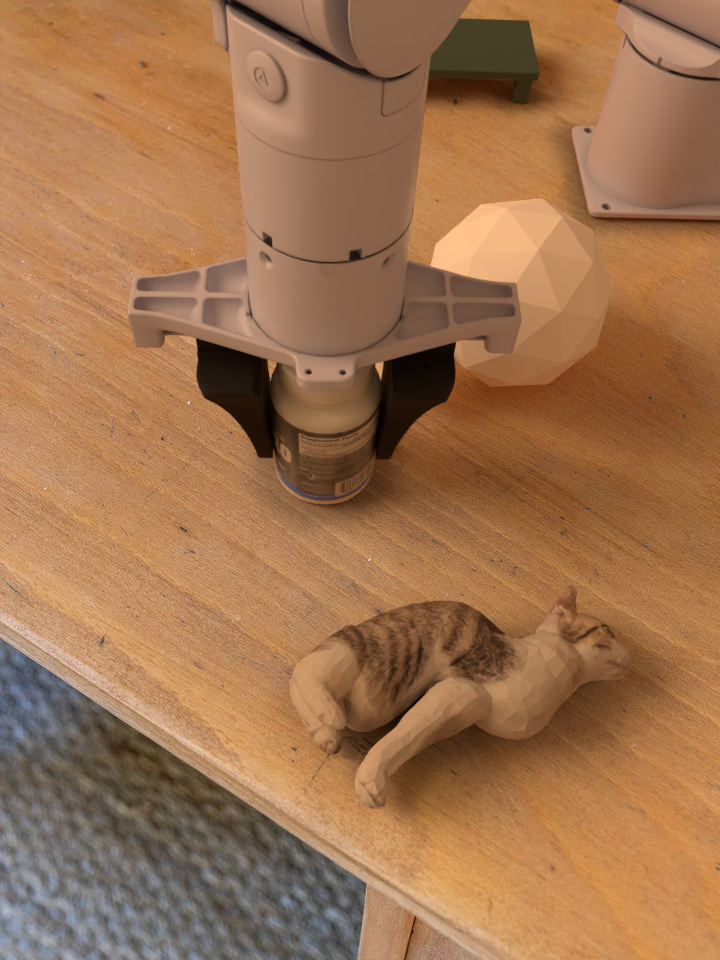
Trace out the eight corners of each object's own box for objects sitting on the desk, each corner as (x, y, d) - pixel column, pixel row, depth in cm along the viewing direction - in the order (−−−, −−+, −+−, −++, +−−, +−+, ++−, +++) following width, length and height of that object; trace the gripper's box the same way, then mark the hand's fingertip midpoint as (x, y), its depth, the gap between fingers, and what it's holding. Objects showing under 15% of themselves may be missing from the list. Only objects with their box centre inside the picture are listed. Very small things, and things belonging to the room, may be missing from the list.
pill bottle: (272, 426, 45) (265, 305, 38) (369, 422, 46) (379, 301, 39) (275, 510, 43) (268, 396, 36) (378, 505, 43) (391, 392, 36)
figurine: (582, 1084, 28) (874, 782, 34) (273, 659, 34) (567, 462, 39) (542, 1078, 32) (811, 807, 37) (270, 697, 37) (539, 512, 43)
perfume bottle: (536, 233, 51) (334, 312, 49) (585, 132, 42) (340, 224, 40) (609, 372, 49) (403, 459, 47) (677, 298, 40) (426, 401, 38)
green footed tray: (522, 52, 63) (529, 20, 61) (532, 105, 60) (540, 73, 58) (375, 48, 63) (377, 15, 61) (377, 101, 60) (379, 68, 58)
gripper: (90, 286, 29) (153, 514, 40) (559, 295, 29) (490, 517, 41) (119, 139, 32) (169, 385, 44) (532, 149, 33) (476, 390, 44)
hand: (323, 440), depth 43 cm, fingers closed on pill bottle, 5 cm apart
